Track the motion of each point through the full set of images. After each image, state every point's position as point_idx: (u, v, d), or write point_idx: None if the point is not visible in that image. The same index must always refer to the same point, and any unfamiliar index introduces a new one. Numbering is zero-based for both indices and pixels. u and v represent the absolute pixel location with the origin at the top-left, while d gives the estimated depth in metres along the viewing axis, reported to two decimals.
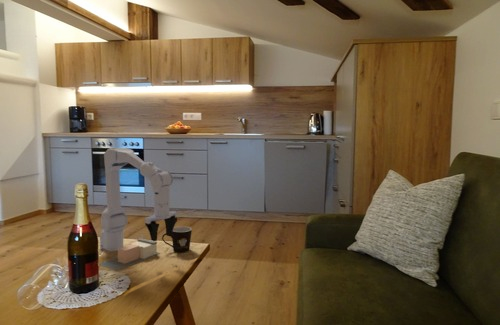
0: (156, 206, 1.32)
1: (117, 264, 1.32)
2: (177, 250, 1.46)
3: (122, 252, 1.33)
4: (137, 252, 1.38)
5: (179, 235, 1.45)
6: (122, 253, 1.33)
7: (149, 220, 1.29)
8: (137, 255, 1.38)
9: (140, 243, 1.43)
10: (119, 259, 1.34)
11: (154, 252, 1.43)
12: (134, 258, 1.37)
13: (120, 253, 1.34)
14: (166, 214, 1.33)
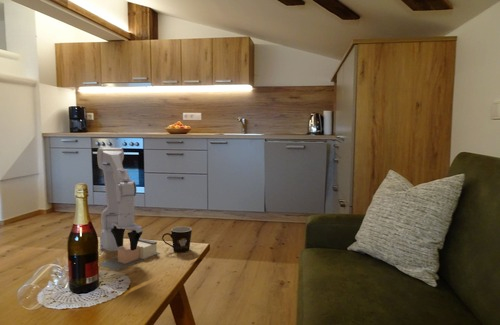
0: None
1: (117, 264, 1.32)
2: (177, 250, 1.46)
3: (122, 252, 1.33)
4: (137, 252, 1.38)
5: (179, 235, 1.45)
6: (122, 253, 1.33)
7: (112, 224, 1.38)
8: (137, 255, 1.38)
9: (140, 243, 1.43)
10: (119, 259, 1.34)
11: (154, 252, 1.43)
12: (134, 258, 1.37)
13: (120, 253, 1.34)
14: (120, 224, 1.33)
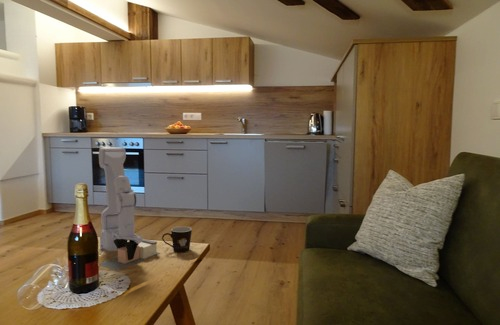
0: None
1: (117, 264, 1.32)
2: (177, 250, 1.46)
3: (122, 252, 1.33)
4: (137, 252, 1.38)
5: (179, 235, 1.45)
6: (122, 253, 1.33)
7: (112, 234, 1.38)
8: (137, 255, 1.38)
9: (140, 243, 1.43)
10: (119, 259, 1.34)
11: (154, 252, 1.43)
12: (134, 258, 1.37)
13: (120, 253, 1.34)
14: (120, 235, 1.33)
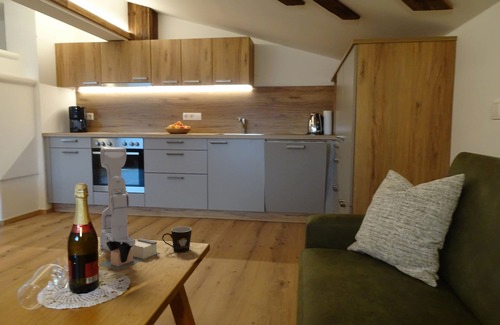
0: None
1: None
2: (177, 250, 1.46)
3: (114, 254, 1.31)
4: (131, 254, 1.35)
5: (179, 235, 1.45)
6: (115, 256, 1.31)
7: (105, 236, 1.35)
8: (131, 257, 1.35)
9: (140, 243, 1.43)
10: (112, 262, 1.32)
11: (154, 252, 1.43)
12: (127, 261, 1.34)
13: (113, 256, 1.31)
14: (112, 237, 1.30)
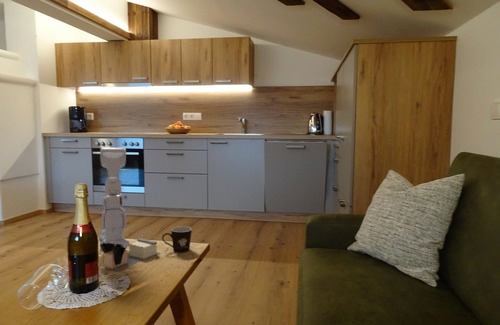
0: None
1: None
2: (177, 250, 1.46)
3: (108, 256, 1.28)
4: (125, 256, 1.33)
5: (179, 235, 1.45)
6: (109, 258, 1.28)
7: (99, 238, 1.33)
8: (125, 260, 1.33)
9: (140, 243, 1.43)
10: (106, 264, 1.29)
11: (154, 252, 1.43)
12: (122, 263, 1.32)
13: (107, 258, 1.29)
14: (106, 238, 1.28)
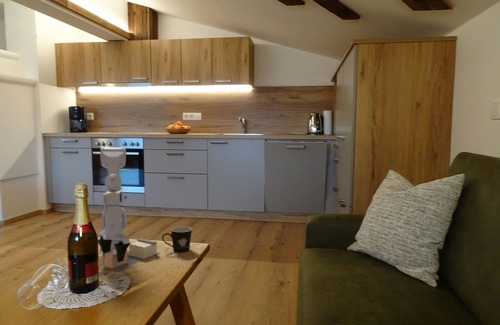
0: None
1: None
2: (177, 250, 1.46)
3: (108, 256, 1.28)
4: (125, 256, 1.33)
5: (179, 235, 1.45)
6: (109, 258, 1.28)
7: (99, 234, 1.33)
8: (125, 260, 1.33)
9: (140, 243, 1.43)
10: (106, 264, 1.29)
11: (154, 252, 1.43)
12: (122, 263, 1.32)
13: (107, 258, 1.29)
14: (106, 235, 1.28)
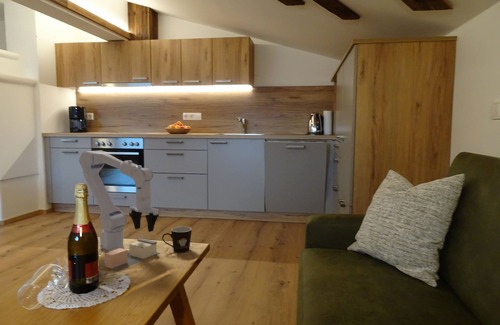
0: None
1: None
2: (177, 250, 1.46)
3: (108, 256, 1.28)
4: (125, 256, 1.33)
5: (179, 235, 1.45)
6: (109, 258, 1.28)
7: (130, 208, 1.47)
8: (125, 260, 1.33)
9: (140, 243, 1.43)
10: (106, 264, 1.29)
11: (154, 252, 1.43)
12: (122, 263, 1.32)
13: (107, 258, 1.29)
14: (137, 207, 1.42)
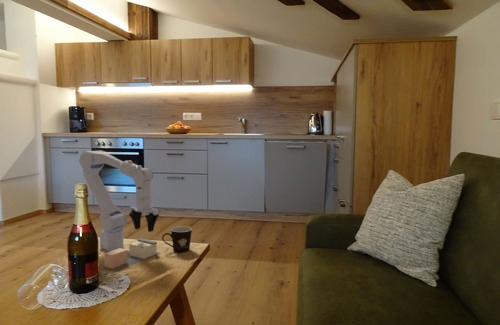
0: None
1: None
2: (177, 250, 1.46)
3: (108, 256, 1.28)
4: (125, 256, 1.33)
5: (179, 235, 1.45)
6: (109, 258, 1.28)
7: (130, 208, 1.47)
8: (125, 260, 1.33)
9: (140, 243, 1.43)
10: (106, 264, 1.29)
11: (154, 252, 1.43)
12: (122, 263, 1.32)
13: (107, 258, 1.29)
14: (137, 207, 1.42)
